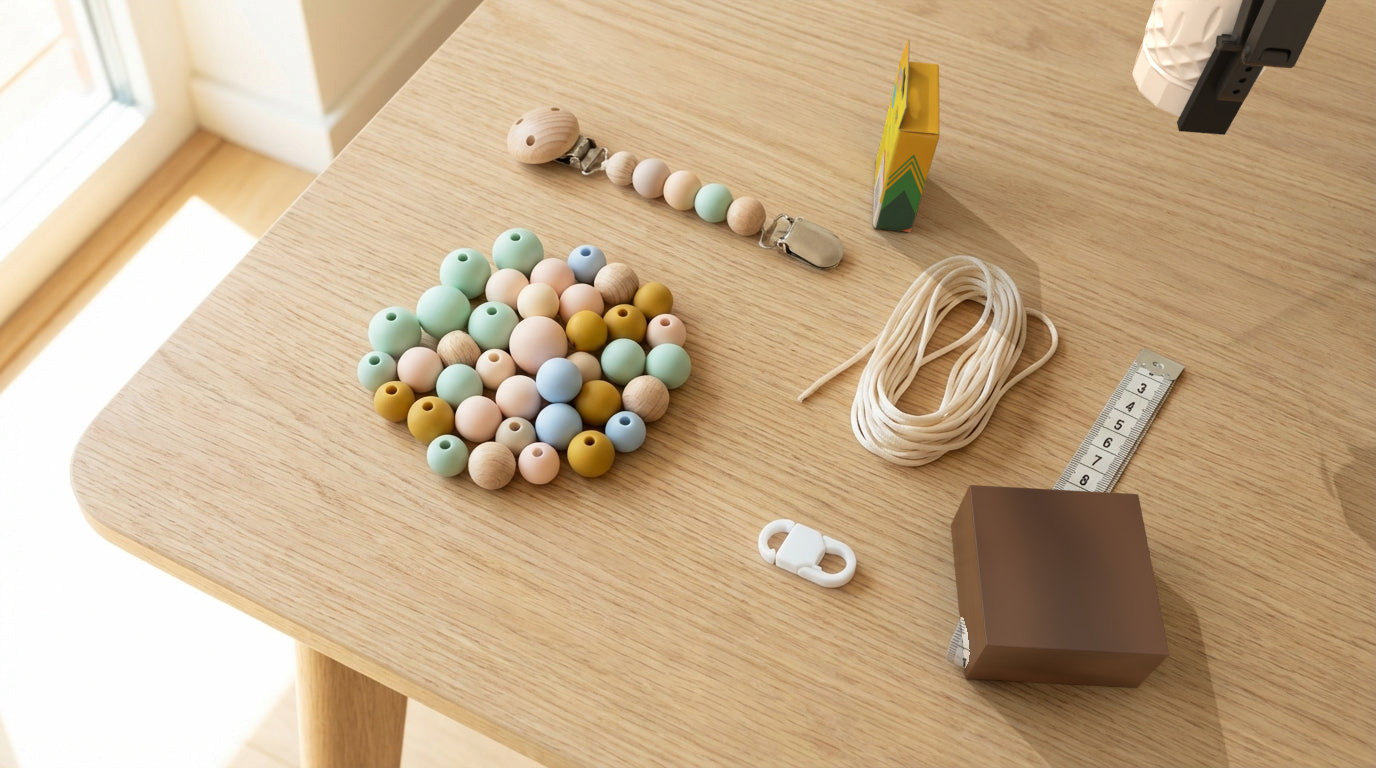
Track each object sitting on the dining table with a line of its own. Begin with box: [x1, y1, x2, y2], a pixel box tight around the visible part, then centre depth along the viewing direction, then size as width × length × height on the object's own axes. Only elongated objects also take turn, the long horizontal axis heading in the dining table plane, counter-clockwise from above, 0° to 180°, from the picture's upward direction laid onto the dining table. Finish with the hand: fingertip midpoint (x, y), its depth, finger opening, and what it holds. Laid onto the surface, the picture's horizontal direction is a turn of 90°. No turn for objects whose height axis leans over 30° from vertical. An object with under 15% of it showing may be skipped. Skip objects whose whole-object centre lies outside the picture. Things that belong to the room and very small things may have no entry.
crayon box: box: [872, 38, 940, 233], centre depth 86 cm, size 7×3×12 cm, turn 173°
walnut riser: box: [950, 484, 1170, 689], centre depth 71 cm, size 10×10×5 cm
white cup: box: [1131, 0, 1268, 118], centre depth 70 cm, size 8×8×10 cm
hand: (1188, 80), depth 74 cm, fingers closed on white cup, 7 cm apart
